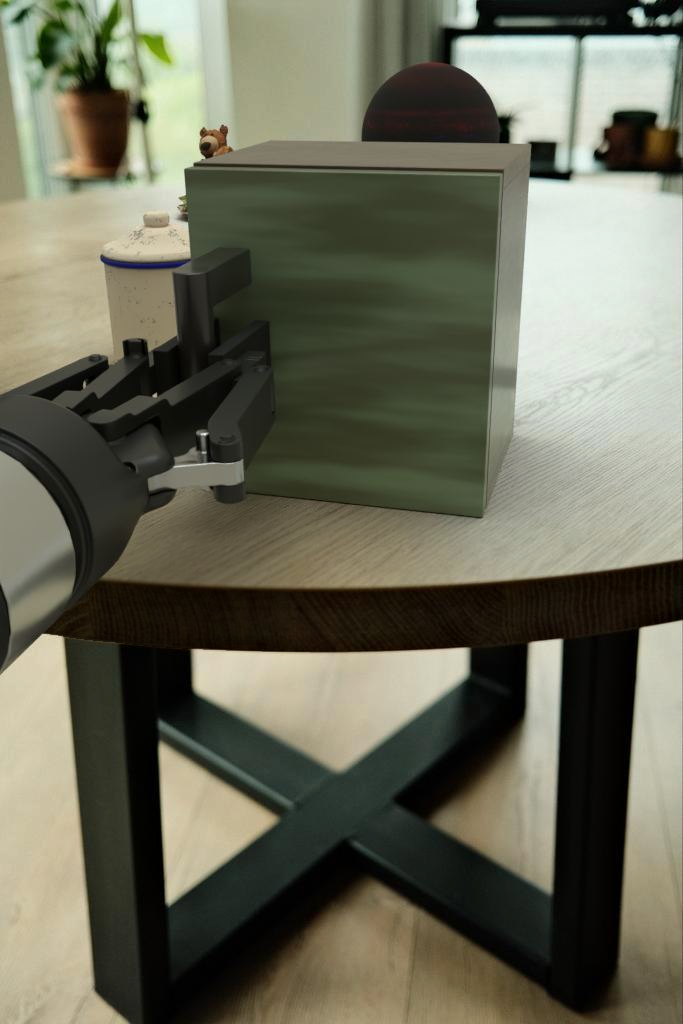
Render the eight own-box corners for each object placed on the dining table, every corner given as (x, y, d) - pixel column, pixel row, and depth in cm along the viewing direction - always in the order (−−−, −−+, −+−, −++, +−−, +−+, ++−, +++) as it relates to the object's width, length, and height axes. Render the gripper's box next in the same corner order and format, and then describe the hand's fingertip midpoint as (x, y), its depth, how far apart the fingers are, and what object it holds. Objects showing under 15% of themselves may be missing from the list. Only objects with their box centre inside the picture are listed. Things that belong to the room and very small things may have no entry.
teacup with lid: (229, 371, 80) (219, 218, 75) (111, 379, 78) (93, 224, 73) (217, 332, 90) (208, 196, 86) (113, 338, 89) (97, 200, 84)
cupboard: (486, 511, 56) (504, 168, 48) (215, 482, 60) (192, 162, 52) (513, 435, 66) (531, 143, 59) (281, 415, 70) (269, 140, 63)
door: (462, 573, 49) (478, 194, 42) (160, 536, 53) (125, 185, 46) (485, 510, 56) (503, 172, 48) (214, 482, 60) (191, 166, 52)
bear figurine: (161, 222, 144) (153, 130, 139) (199, 206, 157) (193, 122, 152) (252, 225, 141) (248, 131, 136) (283, 208, 154) (280, 122, 149)
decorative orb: (477, 196, 162) (483, 59, 154) (511, 216, 144) (520, 62, 136) (353, 200, 160) (352, 62, 152) (372, 221, 142) (372, 65, 134)
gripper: (-181, 603, 37) (116, 399, 58) (203, 661, 33) (376, 421, 54) (-233, 409, 34) (101, 266, 55) (185, 449, 30) (376, 280, 51)
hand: (238, 344), depth 54 cm, fingers open, 2 cm apart
